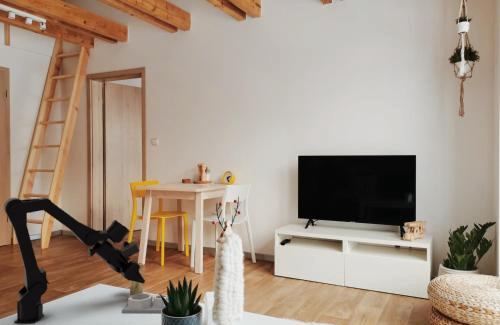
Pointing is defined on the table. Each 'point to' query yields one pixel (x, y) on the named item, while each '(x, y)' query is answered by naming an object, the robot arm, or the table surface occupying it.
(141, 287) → the gold metal cylinder
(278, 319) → the table surface
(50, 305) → the table surface
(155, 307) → the manifold plate
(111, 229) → the robot arm
